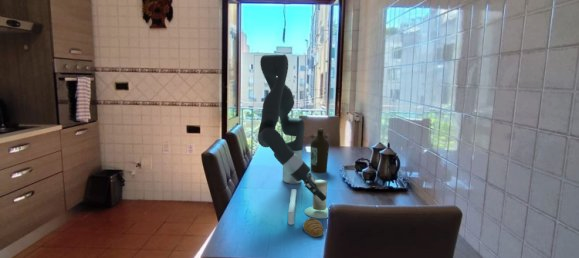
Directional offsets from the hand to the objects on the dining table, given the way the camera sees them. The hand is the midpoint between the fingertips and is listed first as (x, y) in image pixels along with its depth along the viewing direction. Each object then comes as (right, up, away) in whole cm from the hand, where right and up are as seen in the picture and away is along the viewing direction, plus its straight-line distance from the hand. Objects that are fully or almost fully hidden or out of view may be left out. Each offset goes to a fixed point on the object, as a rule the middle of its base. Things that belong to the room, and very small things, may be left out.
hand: (324, 196), depth 147 cm
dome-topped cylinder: (-2, -5, +1) cm, 5 cm away
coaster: (-2, -7, +1) cm, 7 cm away
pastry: (-5, -10, -16) cm, 19 cm away
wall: (-13, -6, +2) cm, 15 cm away
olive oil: (+3, +3, +63) cm, 64 cm away
